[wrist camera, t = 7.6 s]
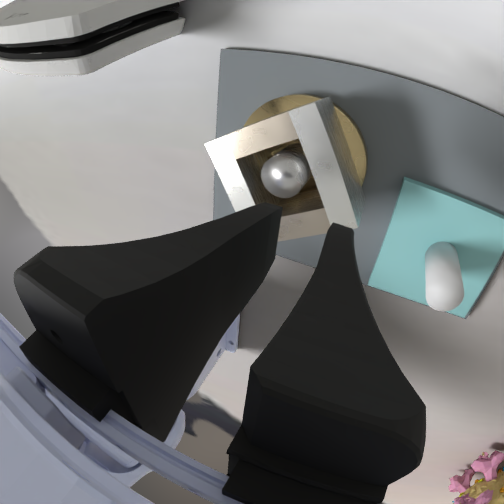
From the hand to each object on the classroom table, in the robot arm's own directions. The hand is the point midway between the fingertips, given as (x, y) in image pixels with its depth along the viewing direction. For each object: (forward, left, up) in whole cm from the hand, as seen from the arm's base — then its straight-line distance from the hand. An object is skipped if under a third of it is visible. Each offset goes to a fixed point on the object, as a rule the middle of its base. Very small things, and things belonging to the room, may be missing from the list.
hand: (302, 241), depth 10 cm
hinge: (+9, +19, -9) cm, 23 cm away
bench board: (-1, -2, -8) cm, 9 cm away
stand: (-3, -7, -8) cm, 11 cm away
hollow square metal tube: (0, +2, -7) cm, 7 cm away
